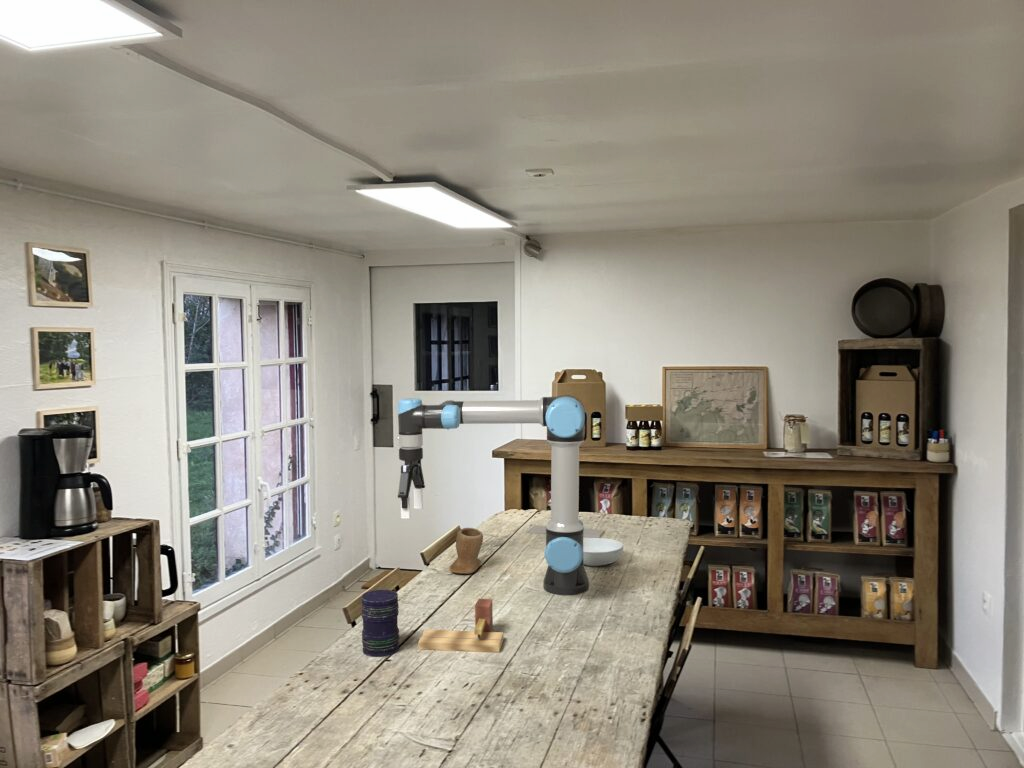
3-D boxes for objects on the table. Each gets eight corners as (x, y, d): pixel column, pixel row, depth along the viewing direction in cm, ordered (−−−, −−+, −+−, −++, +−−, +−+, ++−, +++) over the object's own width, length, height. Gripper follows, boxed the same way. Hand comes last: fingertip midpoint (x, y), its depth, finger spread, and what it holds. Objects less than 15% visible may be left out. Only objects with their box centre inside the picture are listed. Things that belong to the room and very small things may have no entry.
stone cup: (478, 577, 277) (478, 534, 276) (445, 575, 279) (445, 533, 278) (489, 564, 292) (488, 524, 291) (458, 563, 294) (457, 523, 293)
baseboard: (598, 540, 326) (604, 533, 337) (598, 533, 325) (604, 526, 337) (526, 535, 335) (534, 528, 347) (526, 528, 335) (534, 521, 347)
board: (503, 639, 221) (503, 632, 221) (499, 652, 212) (499, 645, 212) (425, 636, 223) (425, 629, 223) (418, 649, 214) (418, 642, 214)
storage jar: (368, 660, 208) (367, 604, 207) (357, 647, 217) (356, 593, 216) (404, 652, 212) (403, 597, 211) (392, 640, 221) (391, 587, 220)
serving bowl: (622, 555, 302) (622, 537, 302) (624, 571, 282) (624, 552, 281) (567, 554, 304) (567, 536, 304) (565, 570, 284) (565, 551, 283)
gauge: (492, 629, 228) (492, 599, 227) (485, 649, 214) (484, 616, 213) (478, 629, 228) (478, 598, 228) (470, 648, 215) (470, 616, 214)
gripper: (411, 441, 266) (412, 504, 267) (386, 453, 241) (388, 522, 243) (432, 441, 264) (434, 505, 266) (410, 453, 240) (411, 522, 241)
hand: (412, 513), depth 254 cm, fingers open, 13 cm apart
